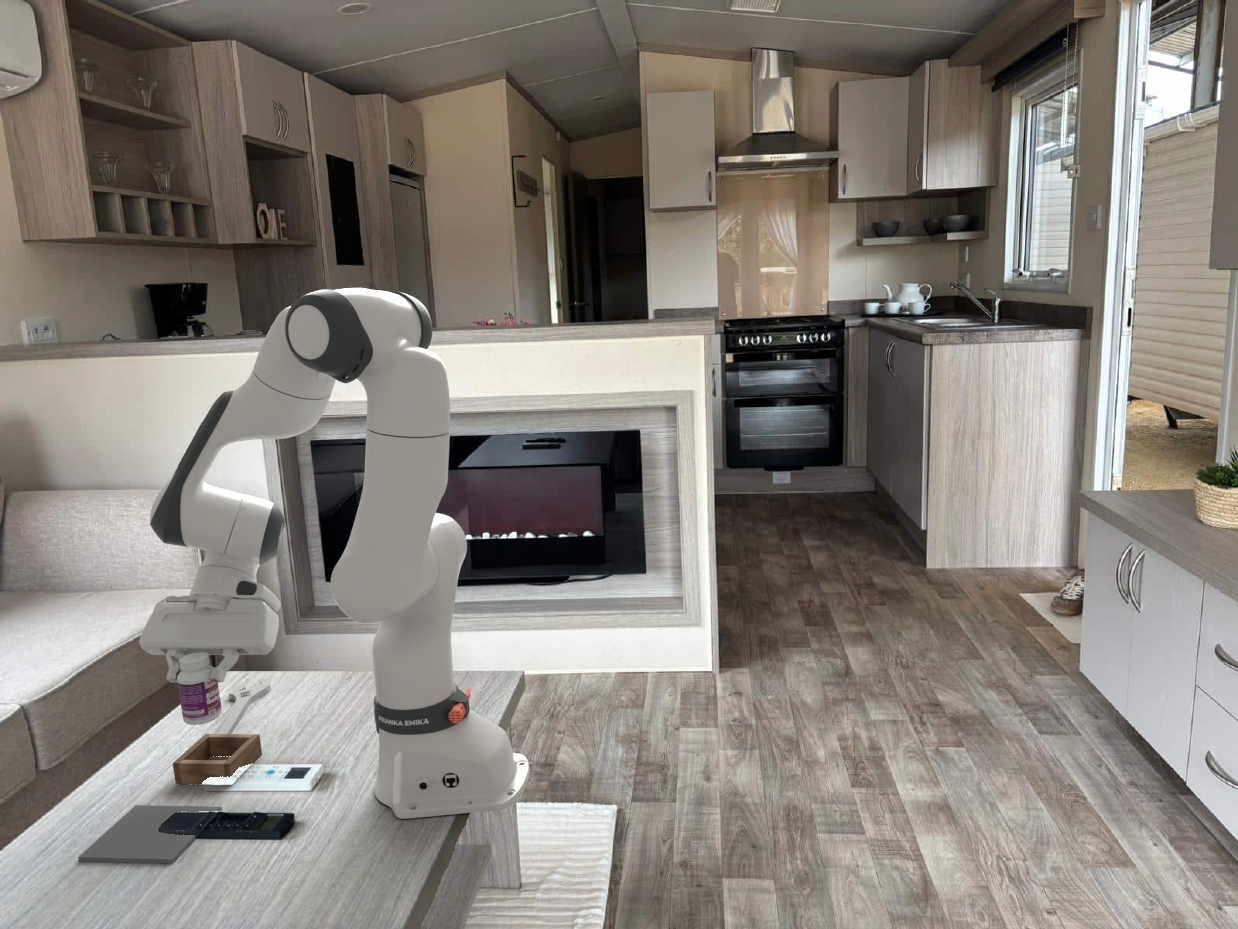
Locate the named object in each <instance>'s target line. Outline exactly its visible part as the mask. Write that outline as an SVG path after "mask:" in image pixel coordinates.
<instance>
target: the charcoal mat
mask: <svg viewBox="0 0 1238 929" xmlns="http://www.w3.org/2000/svg"><path fill="white" fill-rule="evenodd" d="M220 810H222V811H223V808H222V806H207V805H206V806H205V805H204V806H200V805H199V806H196V805H195V806H194V805H153V804H152V805H150V804H149V805H147V804H143V805H142V804H141V805H140V804H135V805H134V806H133V807H131V809H130V810H128V812H126V813H125V814H124V815H122V817H121V818H120V819H119V820H118V821H116V822H115V824H113V825H112V826H111V827H110V828H108V829H107V831H105V832H104V833H103V834H102V835H101V836H100V837H99V838H97V839H96V840H95V841H94V842H93V843H92V844H91V845H90V846H89V847H87V848H86V850H84V851H83V852H82V853H81V854H80V855H79V856H77V859H78V861H79V862H93V863H94V862H95V863H96V862H97V863H136V864H137V863H139V864H169V865H170V864H174V863H175V862H176V860H178V859H179V858H180V856H182V854H183V853H184V852H185V851H186V850H187V849H188V848H189V847H190V846H191V845H192V843H193V842H195V840H196V839H197V838H195V837H196V836H195V835H184V834H183V835H178V834H177V835H175V834H168V833H167V834H166V833H163V832H162V833H161V832H159V830H158V829H159V827H160V825H161V824H162V823H163V822H164V821H166V820H167V819H168V818H169V817H170V815H171V814H174V813H176V812H182V811H183V812H185V811H186V812H199V811H220Z"/></svg>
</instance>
